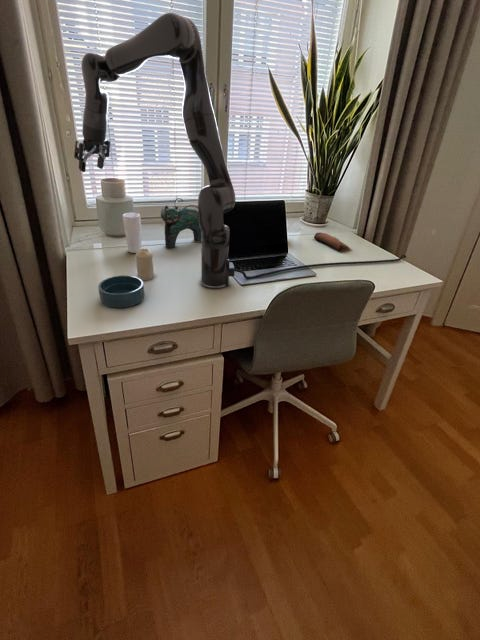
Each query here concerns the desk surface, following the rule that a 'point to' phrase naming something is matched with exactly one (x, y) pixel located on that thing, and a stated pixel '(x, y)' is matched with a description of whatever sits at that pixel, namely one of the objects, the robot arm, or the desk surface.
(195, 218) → the ceramic cat
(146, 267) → the candle
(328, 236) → the brown tapered cylinder
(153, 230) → the desk surface
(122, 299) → the bowl
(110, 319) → the desk surface
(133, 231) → the drinking glass
